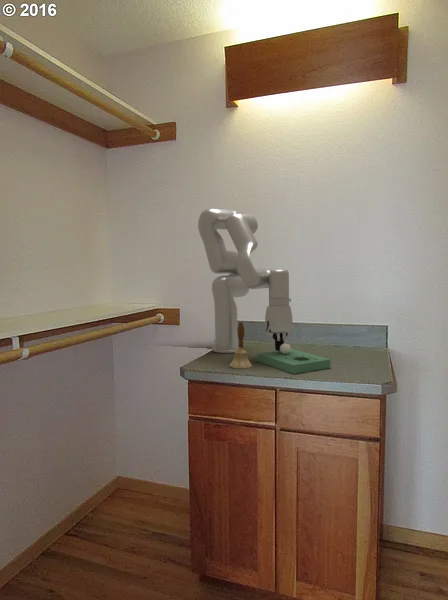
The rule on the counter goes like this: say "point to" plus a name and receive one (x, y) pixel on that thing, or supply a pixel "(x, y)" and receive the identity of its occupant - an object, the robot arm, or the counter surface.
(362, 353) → the counter surface
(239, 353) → the hand bell
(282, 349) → the ball
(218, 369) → the counter surface
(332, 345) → the counter surface
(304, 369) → the block
